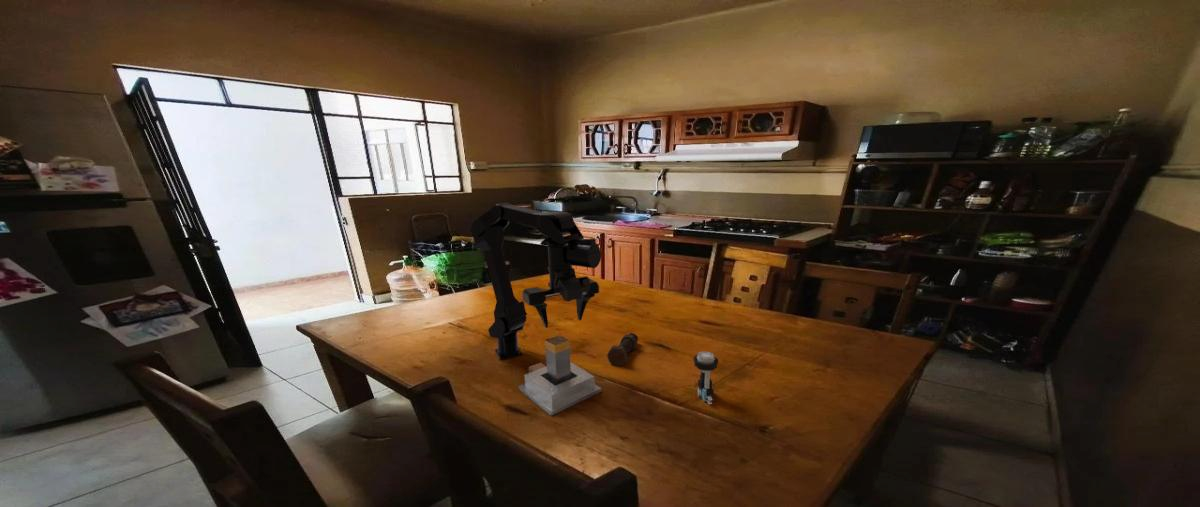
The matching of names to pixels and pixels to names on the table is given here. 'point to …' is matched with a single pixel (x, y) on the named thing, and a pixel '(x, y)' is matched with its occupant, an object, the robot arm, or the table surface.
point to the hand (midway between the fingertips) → (563, 323)
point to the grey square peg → (558, 359)
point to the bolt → (622, 350)
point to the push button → (705, 374)
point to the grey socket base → (558, 388)
